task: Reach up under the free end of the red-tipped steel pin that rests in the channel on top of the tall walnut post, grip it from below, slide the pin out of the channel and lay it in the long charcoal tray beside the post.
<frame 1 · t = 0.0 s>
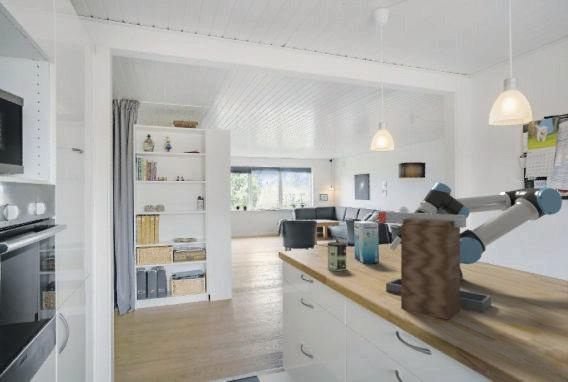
hand: (396, 251, 148), 15 cm above the counter, tool tilted 35°, fingers open, 13 cm apart
post: (430, 309, 117), on the counter
coffee can: (336, 269, 180), on the counter
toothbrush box: (366, 261, 203), on the counter
tray: (435, 297, 130), on the counter
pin: (419, 224, 120), point 30 cm above the counter, touching post
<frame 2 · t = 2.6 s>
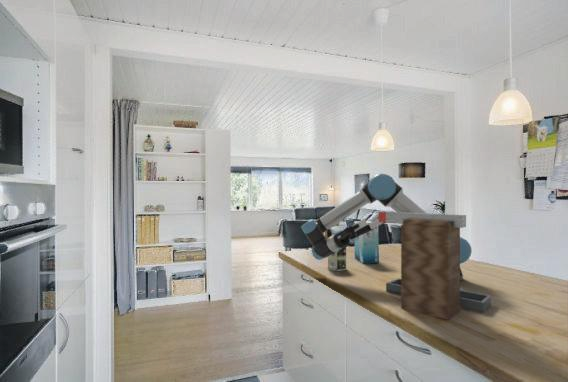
hand: (373, 220, 141), 29 cm above the counter, tool pointing upward, fingers open, 13 cm apart
nothing on the counter moved.
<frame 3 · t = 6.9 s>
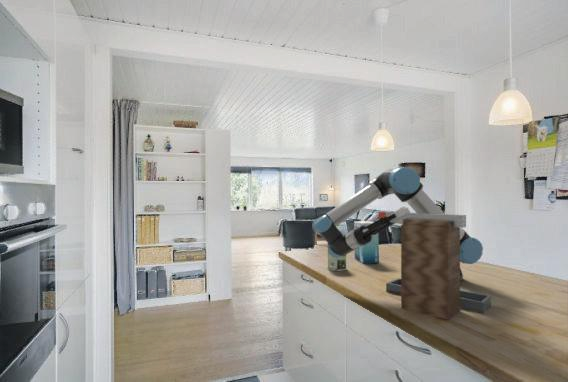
hand: (406, 211, 123), 35 cm above the counter, tool pointing upward, fingers closed on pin, 4 cm apart
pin: (419, 224, 120), point 30 cm above the counter, touching gripper, post
everything else where it was.
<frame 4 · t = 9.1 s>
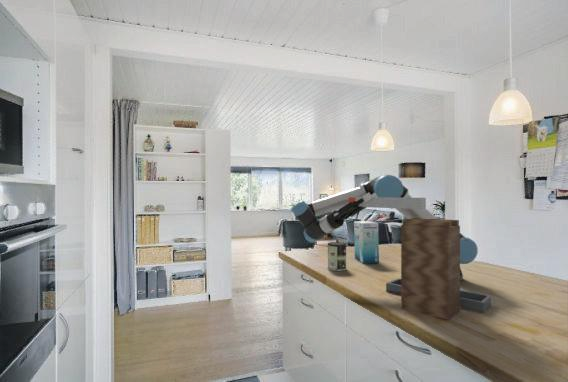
hand: (373, 195, 132), 40 cm above the counter, tool pointing upward, fingers closed on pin, 4 cm apart
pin: (384, 207, 128), point 36 cm above the counter, touching gripper
everything else where it was.
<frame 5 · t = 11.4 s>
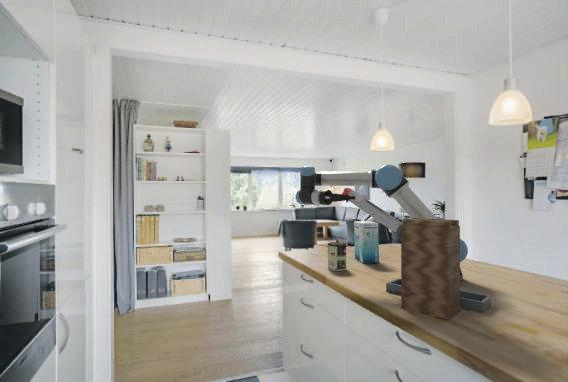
hand: (365, 197, 145), 39 cm above the counter, tool horizontal, fingers closed on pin, 4 cm apart
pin: (368, 212, 143), point 33 cm above the counter, tilted 30°, touching gripper
everything else where it was.
when the fingers open (16 cm above the counter, at t = 15.2 s): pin drops 8 cm, resting on tray.
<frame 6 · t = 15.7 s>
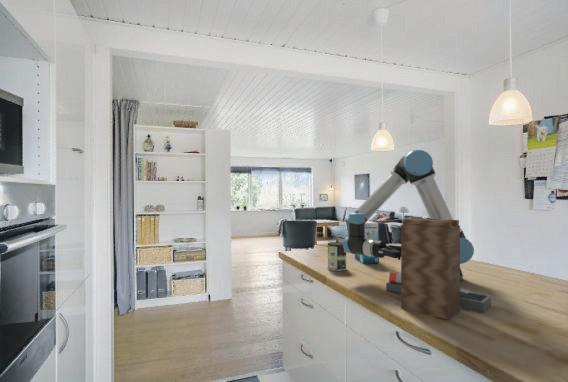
hand: (424, 254, 133), 16 cm above the counter, tool horizontal, fingers open, 12 cm apart
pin: (426, 290, 132), point 2 cm above the counter, tilted 5°, touching tray
everything else where it was.
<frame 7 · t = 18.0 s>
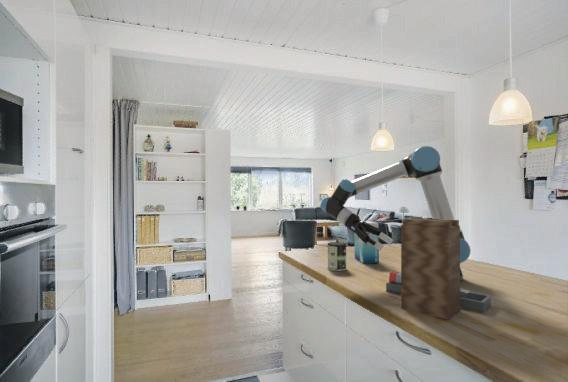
hand: (387, 245, 147), 18 cm above the counter, tool tilted 60°, fingers open, 13 cm apart
nothing on the counter moved.
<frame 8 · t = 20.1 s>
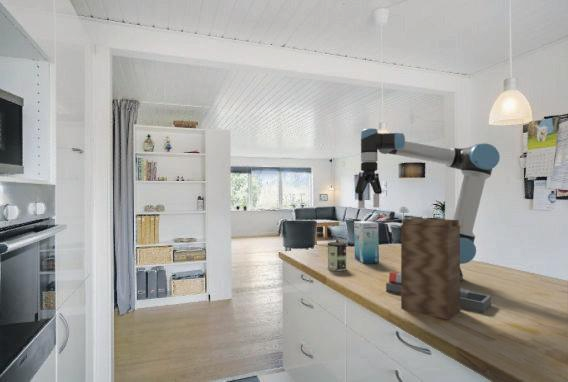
hand: (369, 207, 153), 35 cm above the counter, tool pointing down, fingers open, 13 cm apart
nothing on the counter moved.
at the end: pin 3.3 cm from the tray (horizontally); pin point 2.2 cm above the counter; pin moved 31.5 cm from its start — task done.
